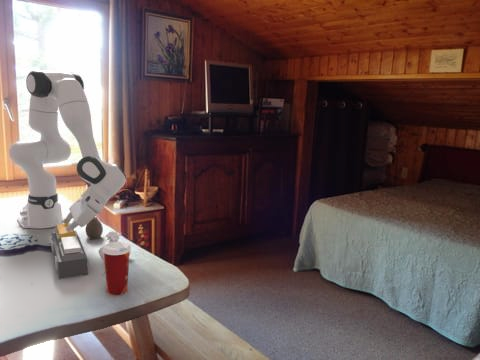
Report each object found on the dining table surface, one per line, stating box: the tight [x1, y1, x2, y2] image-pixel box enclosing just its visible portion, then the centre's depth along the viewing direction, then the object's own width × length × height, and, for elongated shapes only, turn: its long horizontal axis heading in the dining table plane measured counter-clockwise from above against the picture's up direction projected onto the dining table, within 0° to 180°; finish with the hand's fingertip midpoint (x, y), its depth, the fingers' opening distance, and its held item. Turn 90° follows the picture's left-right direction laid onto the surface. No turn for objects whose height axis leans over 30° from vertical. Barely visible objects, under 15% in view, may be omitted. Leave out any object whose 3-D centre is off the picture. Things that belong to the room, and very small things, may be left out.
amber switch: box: [56, 222, 75, 238], centre depth 152 cm, size 12×5×2 cm, turn 29°
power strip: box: [50, 227, 89, 280], centre depth 146 cm, size 30×9×8 cm, turn 29°
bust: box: [98, 230, 132, 263], centre depth 150 cm, size 12×8×11 cm
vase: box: [85, 216, 104, 240], centre depth 170 cm, size 7×7×9 cm
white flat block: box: [61, 236, 81, 254], centre depth 138 cm, size 12×5×2 cm, turn 29°
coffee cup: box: [103, 241, 132, 296], centre depth 125 cm, size 8×8×15 cm
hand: (65, 226), depth 152 cm, fingers open, 8 cm apart
